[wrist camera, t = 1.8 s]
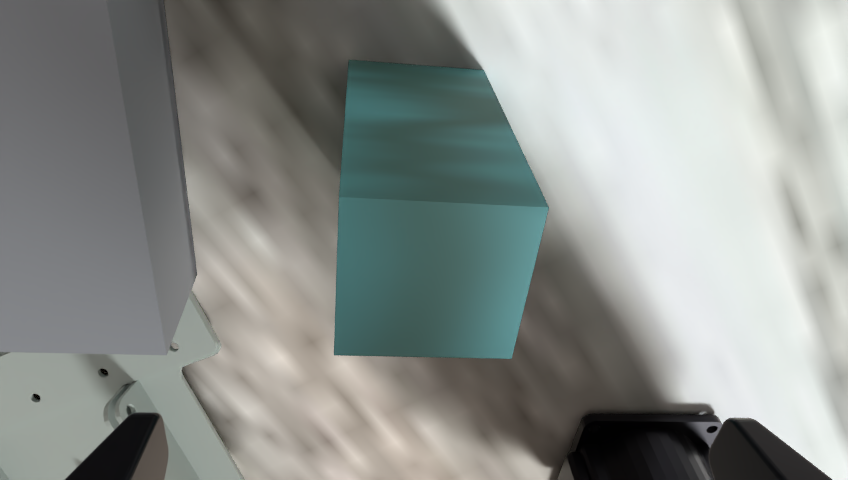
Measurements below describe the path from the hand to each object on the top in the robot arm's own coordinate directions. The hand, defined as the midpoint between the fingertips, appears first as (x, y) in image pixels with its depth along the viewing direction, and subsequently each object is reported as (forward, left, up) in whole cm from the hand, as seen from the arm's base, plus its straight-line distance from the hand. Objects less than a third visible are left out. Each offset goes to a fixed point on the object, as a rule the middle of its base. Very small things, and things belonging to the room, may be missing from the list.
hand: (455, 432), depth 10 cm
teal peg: (0, 0, -12) cm, 12 cm away
